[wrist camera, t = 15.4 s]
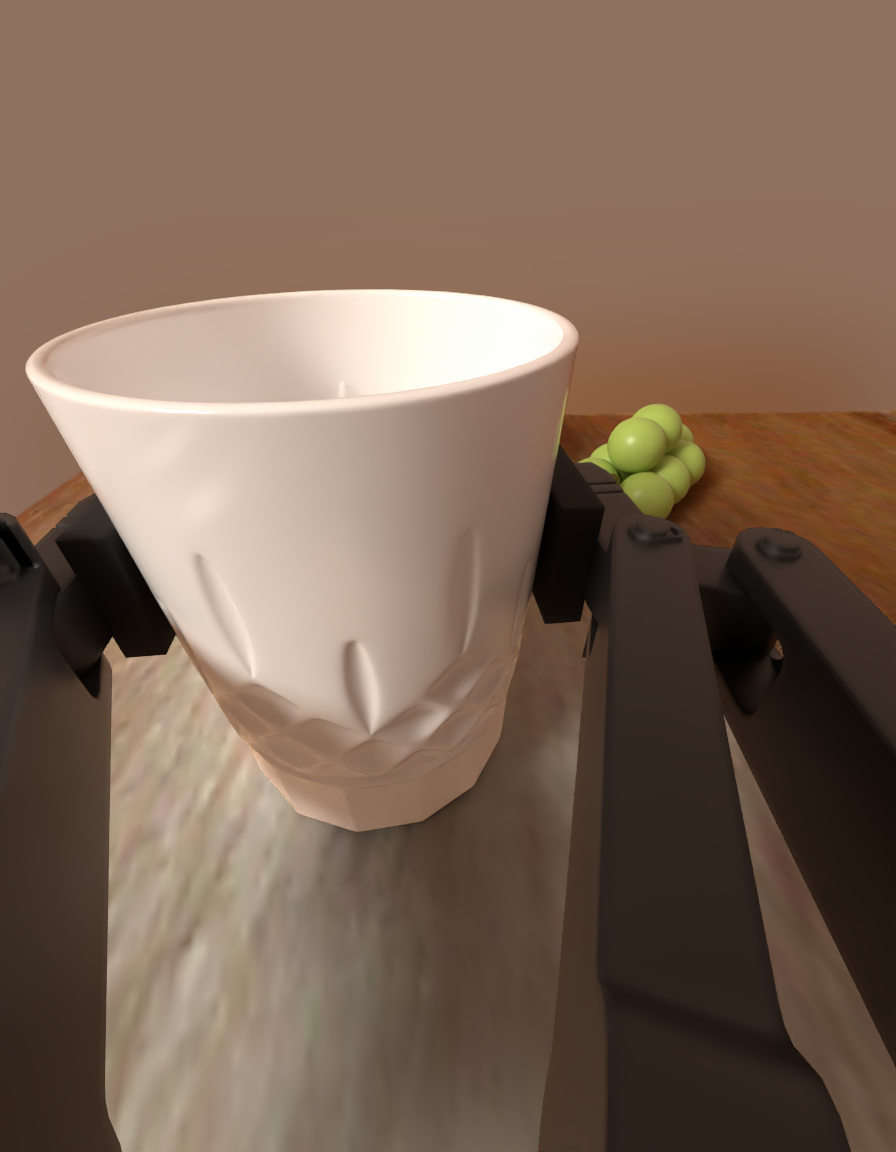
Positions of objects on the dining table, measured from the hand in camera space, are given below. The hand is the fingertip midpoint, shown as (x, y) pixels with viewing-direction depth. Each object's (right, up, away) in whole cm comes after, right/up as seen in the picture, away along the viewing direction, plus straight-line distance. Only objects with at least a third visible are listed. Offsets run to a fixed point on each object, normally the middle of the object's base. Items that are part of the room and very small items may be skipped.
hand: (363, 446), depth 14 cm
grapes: (+12, +1, +10) cm, 16 cm away
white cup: (+1, -8, 0) cm, 8 cm away
